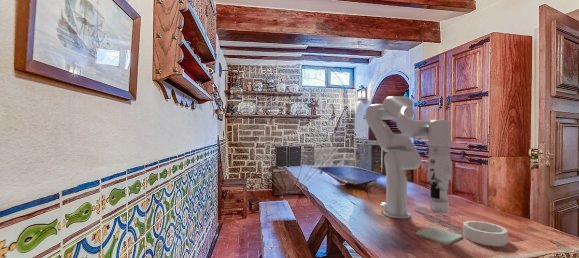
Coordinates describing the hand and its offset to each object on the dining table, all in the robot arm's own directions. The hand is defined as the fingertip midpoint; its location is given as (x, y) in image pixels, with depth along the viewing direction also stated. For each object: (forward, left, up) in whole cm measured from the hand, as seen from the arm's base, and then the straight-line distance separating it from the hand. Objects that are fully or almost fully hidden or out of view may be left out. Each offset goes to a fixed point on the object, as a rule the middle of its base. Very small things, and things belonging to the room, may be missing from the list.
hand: (439, 196), depth 104 cm
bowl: (+11, +12, -15) cm, 22 cm away
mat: (0, 0, -15) cm, 15 cm away
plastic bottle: (0, 0, -7) cm, 7 cm away
